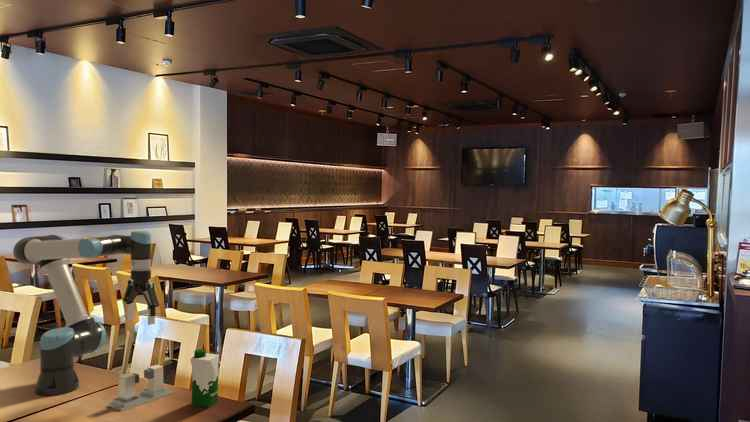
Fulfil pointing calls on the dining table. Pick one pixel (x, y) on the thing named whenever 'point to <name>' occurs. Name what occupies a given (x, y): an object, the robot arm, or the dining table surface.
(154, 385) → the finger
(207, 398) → the milk carton
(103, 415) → the dining table surface
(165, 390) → the rail
